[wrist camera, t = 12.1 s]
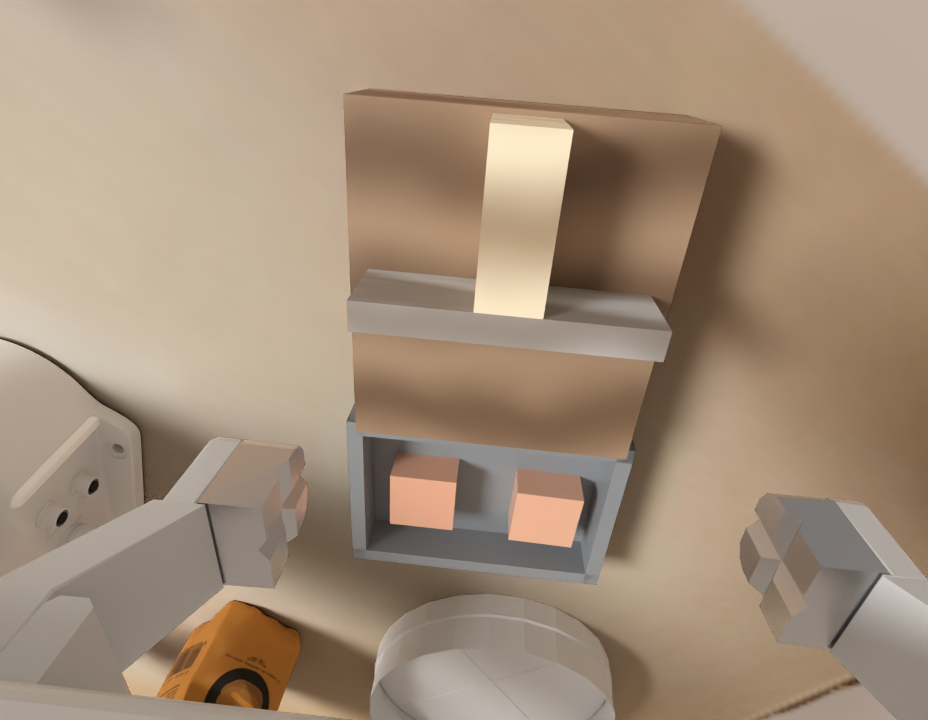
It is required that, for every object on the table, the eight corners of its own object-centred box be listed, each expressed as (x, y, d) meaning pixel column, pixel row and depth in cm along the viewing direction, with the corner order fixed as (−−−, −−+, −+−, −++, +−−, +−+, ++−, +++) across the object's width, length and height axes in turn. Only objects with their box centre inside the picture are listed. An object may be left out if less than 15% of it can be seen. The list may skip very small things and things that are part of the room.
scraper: (643, 322, 27) (663, 362, 23) (368, 296, 27) (348, 331, 24) (694, 130, 22) (728, 143, 19) (364, 102, 23) (338, 109, 19)
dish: (646, 699, 52) (659, 757, 48) (457, 743, 59) (452, 798, 55) (539, 560, 43) (542, 616, 39) (332, 632, 50) (315, 686, 46)
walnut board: (611, 410, 35) (626, 459, 31) (374, 386, 36) (355, 431, 31) (687, 115, 26) (722, 126, 22) (370, 88, 27) (343, 93, 23)
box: (590, 546, 42) (596, 584, 39) (364, 522, 42) (352, 557, 39) (625, 418, 36) (635, 451, 33) (360, 391, 36) (346, 421, 33)
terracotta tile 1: (584, 501, 36) (579, 475, 38) (517, 493, 36) (517, 468, 38) (571, 547, 38) (567, 521, 40) (508, 539, 38) (508, 513, 40)
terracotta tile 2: (456, 482, 36) (459, 458, 38) (389, 475, 36) (396, 452, 38) (452, 530, 38) (455, 504, 40) (389, 523, 38) (396, 498, 40)
